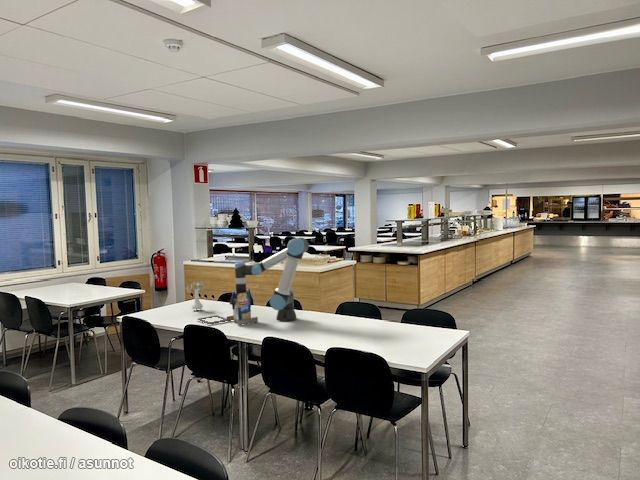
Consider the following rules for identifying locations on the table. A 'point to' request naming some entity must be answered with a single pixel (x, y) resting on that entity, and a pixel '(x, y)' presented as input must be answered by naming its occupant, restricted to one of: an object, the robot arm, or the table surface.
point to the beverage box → (242, 306)
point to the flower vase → (196, 294)
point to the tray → (214, 321)
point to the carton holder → (243, 320)
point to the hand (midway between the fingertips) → (242, 312)
